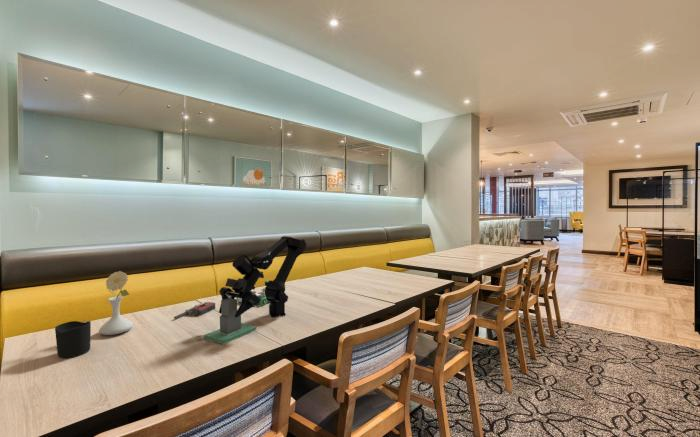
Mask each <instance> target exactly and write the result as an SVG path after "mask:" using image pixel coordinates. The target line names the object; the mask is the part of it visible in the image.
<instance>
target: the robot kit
mask: <svg viewBox="0 0 700 437" xmlns="http://www.w3.org/2000/svg"><path fill="white" fill-rule="evenodd" d="M268 282H269V280H265V281H264V286H265V287H266V286H267V284H268ZM265 287H264V288H261V291H260V292H258V293H257V291H255V290H251V292H252V293H255V294H256V295H257V296H258V297H259V298H260V303H259V304H258V306H261V307H263V306H266V305H267V303H270V301H267V299H266V296H265V289H266V288H265ZM235 299H237V303H239V302H240V303H242V299H241V298H236V297H235Z"/></svg>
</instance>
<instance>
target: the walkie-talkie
mask: <svg viewBox="0 0 700 437" xmlns="http://www.w3.org/2000/svg"><path fill="white" fill-rule="evenodd" d="M215 309H216V303H215V302H209V301H204V302H203V303H202V302H200V303H198V304H195V305H194V306H192V307H190V308H187V309H185V311H184V312H181V313H180V314H178V315H175V316H173V318H174V319H175V320H176V319H178V318H180V317H182V316H185V315H189V316H196V317H197V316H199V317H201V316H204V315H205V314H207V313H209V312H212V311H214V310H215Z"/></svg>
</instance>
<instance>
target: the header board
mask: <svg viewBox="0 0 700 437" xmlns="http://www.w3.org/2000/svg"><path fill="white" fill-rule="evenodd" d="M256 330H257V326H255V325H250V324H247V323H246V324H245V323H243V322H241V329H240V330H238V331H235V332H233V333H231V334H228V335H227V334H223V333H220V328H219V329H217V330H213V331H211V332H209V333H206V334H204V335H203V339H205V340H209V341H211V342H215V343H217V344H220V345H225V344H227V343H229V342H230V343H231V342H232V341H234V340H236V339H238V338H241V337H244V336H245V335H248V334H250V333H253V332H254V331H256Z"/></svg>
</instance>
